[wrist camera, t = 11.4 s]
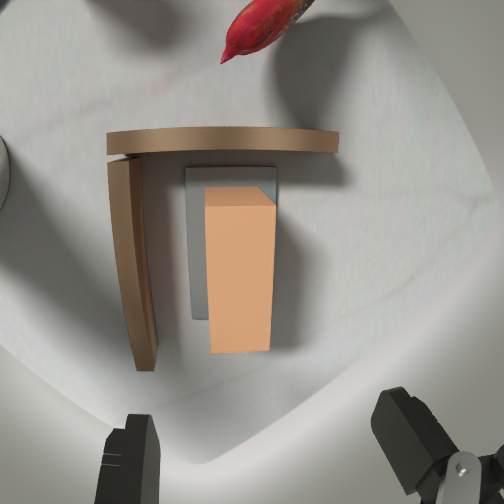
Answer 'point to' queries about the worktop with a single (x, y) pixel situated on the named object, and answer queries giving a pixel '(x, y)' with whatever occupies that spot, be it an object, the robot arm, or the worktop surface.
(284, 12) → the decorative bird figurine
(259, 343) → the terracotta block
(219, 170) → the slate pad
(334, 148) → the walnut corner
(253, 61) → the worktop surface
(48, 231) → the worktop surface
